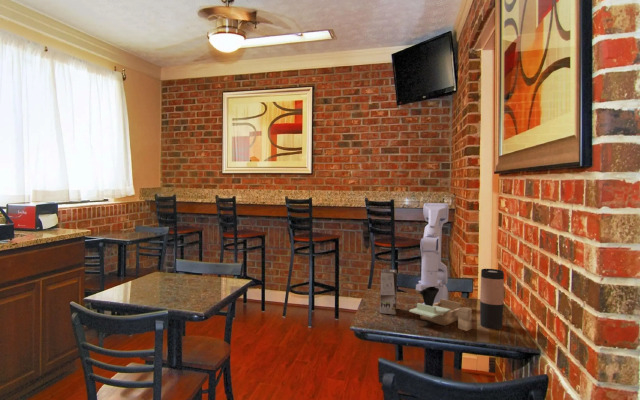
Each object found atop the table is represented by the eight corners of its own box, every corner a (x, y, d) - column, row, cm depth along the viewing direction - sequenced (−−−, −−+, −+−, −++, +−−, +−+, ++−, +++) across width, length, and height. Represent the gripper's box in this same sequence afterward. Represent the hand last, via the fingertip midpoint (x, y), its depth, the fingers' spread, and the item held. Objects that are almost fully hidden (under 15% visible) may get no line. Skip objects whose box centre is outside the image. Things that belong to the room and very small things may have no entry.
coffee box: (396, 314, 146) (397, 273, 146) (379, 313, 147) (380, 272, 147) (396, 308, 155) (397, 269, 155) (380, 307, 156) (381, 268, 156)
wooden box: (439, 311, 151) (439, 298, 151) (462, 318, 144) (463, 303, 144) (420, 318, 142) (420, 304, 142) (444, 325, 134) (445, 310, 134)
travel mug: (474, 323, 137) (476, 269, 137) (490, 321, 140) (491, 268, 140) (491, 330, 130) (493, 273, 130) (507, 328, 133) (509, 271, 133)
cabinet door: (427, 305, 144) (428, 298, 144) (450, 311, 138) (450, 303, 138) (409, 311, 136) (409, 304, 136) (432, 317, 129) (432, 310, 129)
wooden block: (462, 326, 134) (462, 306, 134) (471, 328, 132) (471, 308, 132) (457, 328, 132) (458, 308, 132) (466, 330, 129) (467, 310, 130)
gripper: (430, 266, 144) (429, 302, 144) (408, 270, 134) (407, 308, 134) (447, 269, 139) (446, 306, 139) (426, 273, 129) (425, 313, 129)
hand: (428, 307), depth 136 cm, fingers closed
